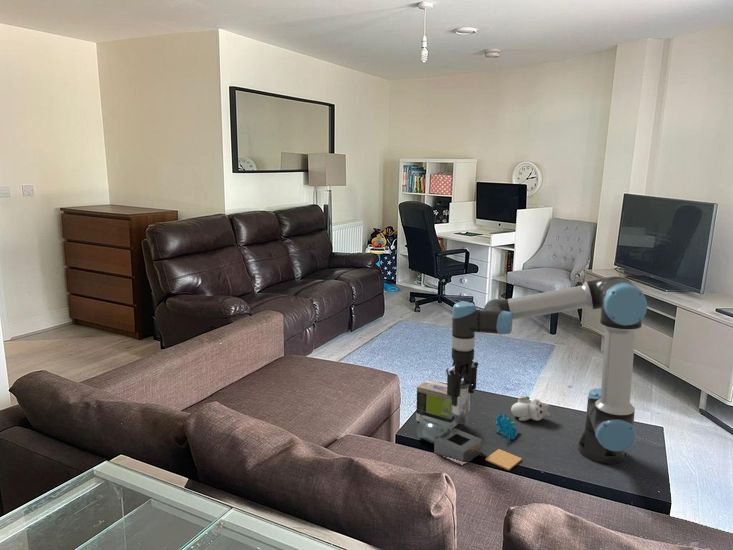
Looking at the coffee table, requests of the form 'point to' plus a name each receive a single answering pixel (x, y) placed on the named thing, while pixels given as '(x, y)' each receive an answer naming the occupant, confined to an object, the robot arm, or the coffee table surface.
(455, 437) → the grey piece
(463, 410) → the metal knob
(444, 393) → the tea box
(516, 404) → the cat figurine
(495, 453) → the pad
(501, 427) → the gear
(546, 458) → the coffee table surface
